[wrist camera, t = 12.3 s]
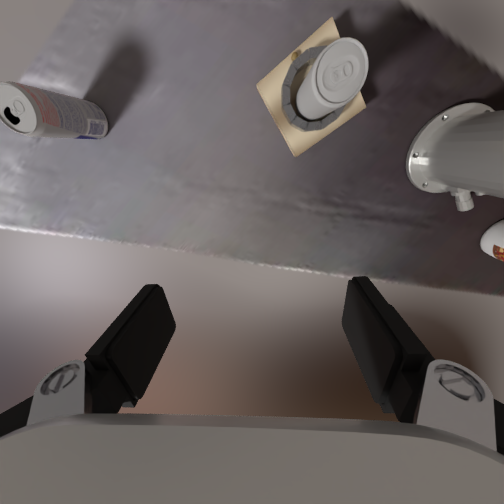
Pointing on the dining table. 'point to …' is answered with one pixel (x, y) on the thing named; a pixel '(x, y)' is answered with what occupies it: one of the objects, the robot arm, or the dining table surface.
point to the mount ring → (297, 65)
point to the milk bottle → (494, 240)
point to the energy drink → (49, 113)
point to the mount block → (273, 84)
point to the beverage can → (333, 79)
